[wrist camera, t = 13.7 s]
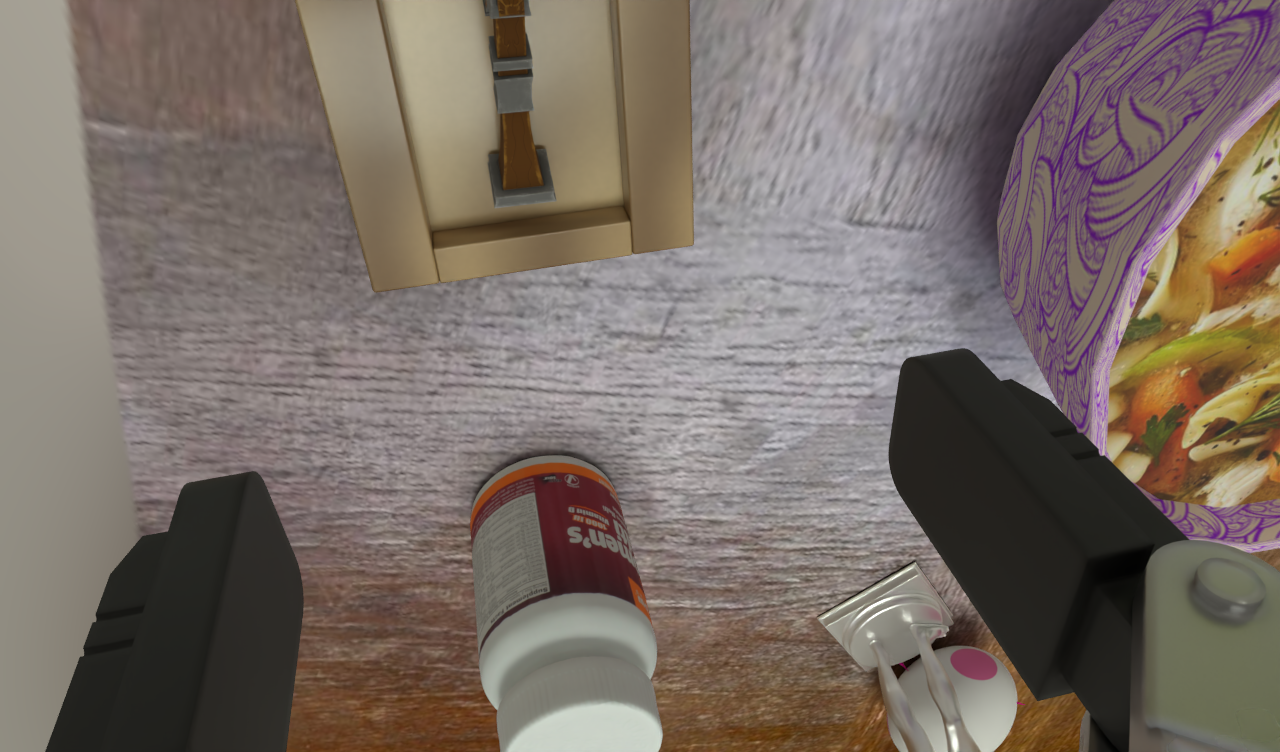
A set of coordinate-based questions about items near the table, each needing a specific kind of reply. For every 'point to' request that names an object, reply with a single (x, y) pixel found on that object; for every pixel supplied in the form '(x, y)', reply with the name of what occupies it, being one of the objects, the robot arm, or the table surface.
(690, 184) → the holder
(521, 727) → the pill bottle
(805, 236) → the table surface
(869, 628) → the figurine
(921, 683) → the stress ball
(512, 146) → the wooden post with brackets
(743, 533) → the table surface
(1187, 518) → the bowl of food
